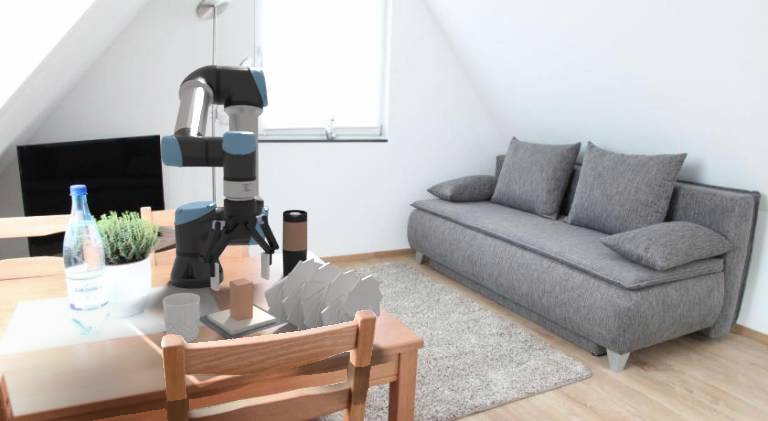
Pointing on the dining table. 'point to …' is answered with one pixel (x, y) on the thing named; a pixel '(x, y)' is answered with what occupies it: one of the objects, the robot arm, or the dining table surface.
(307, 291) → the spiral staircase
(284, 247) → the travel mug
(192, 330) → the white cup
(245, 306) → the lid
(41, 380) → the dining table surface
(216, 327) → the mat
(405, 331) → the dining table surface
